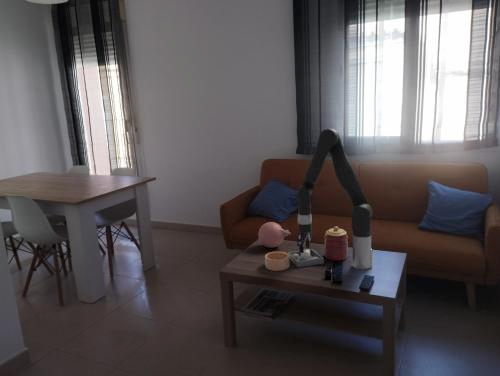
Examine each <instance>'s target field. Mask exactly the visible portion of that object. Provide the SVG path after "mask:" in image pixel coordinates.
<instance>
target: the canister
mask: <svg viewBox="0 0 500 376" xmlns="http://www.w3.org/2000/svg"><path fill="white" fill-rule="evenodd" d="M323 238H324V239H325V240H324V257H325V258H326V259H327V260H329V261H330V260H331V261H344V260H346V259H347V258H348V257H349V247H348V246H349V241H348V239H349V236H348V235H347V231H346V230H345V229H342V228H339V226H336V225H335V226H334V227H333V228H329V229H328V230H326V231H325V235H324V237H323Z"/></svg>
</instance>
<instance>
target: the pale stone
mask: <svg viewBox="0 0 500 376" xmlns="http://www.w3.org/2000/svg"><path fill="white" fill-rule="evenodd" d="M301 260H302V261H304V260H310V250H309V248H304V252H303V253H301Z"/></svg>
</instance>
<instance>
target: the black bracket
mask: <svg viewBox="0 0 500 376" xmlns="http://www.w3.org/2000/svg"><path fill="white" fill-rule="evenodd" d="M332 271H333V269H332V267H327V266H326V267H325V270H324V272H323V275H322V277H321V281H329V282H330V281H331V282H333V281H332V280H331V274H332V273H333V272H332Z"/></svg>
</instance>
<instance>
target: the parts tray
mask: <svg viewBox="0 0 500 376" xmlns="http://www.w3.org/2000/svg"><path fill="white" fill-rule="evenodd" d="M308 250H310V260H304V261H302V260H301V253H300V252H299V250H297V251H296V250H295V251H288V252H287V254H288V255H289V261H291V263H293V264H294V265H295V267H297V268H301V267H309V266H316V265H323V264H325V258H324V257H323V256H322V255H320V253H318V252H317V251H316V250H315V249H313V248H310V249H309V248H308ZM293 254H298V259H296V258H295V257H294V256H293ZM313 257H318V258H317V259H313Z"/></svg>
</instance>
